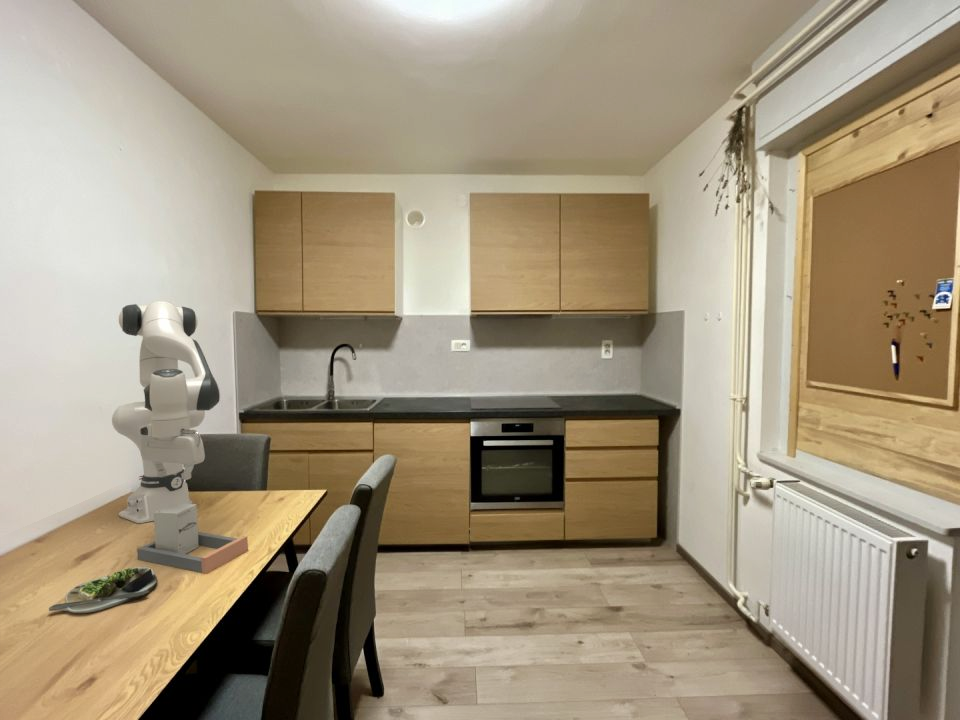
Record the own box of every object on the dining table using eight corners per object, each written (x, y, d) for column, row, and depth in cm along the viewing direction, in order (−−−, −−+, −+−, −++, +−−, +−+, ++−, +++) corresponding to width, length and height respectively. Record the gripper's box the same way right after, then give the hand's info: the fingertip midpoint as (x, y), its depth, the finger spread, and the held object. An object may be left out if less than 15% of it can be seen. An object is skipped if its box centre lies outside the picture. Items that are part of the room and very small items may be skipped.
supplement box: (178, 559, 124) (175, 513, 123) (155, 557, 125) (152, 512, 124) (199, 547, 131) (197, 503, 130) (178, 545, 132) (175, 502, 132)
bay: (137, 559, 124) (136, 545, 124) (183, 539, 136) (182, 526, 136) (206, 573, 116) (205, 558, 116) (248, 550, 128) (247, 536, 128)
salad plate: (49, 633, 94) (47, 612, 93) (49, 598, 107) (47, 579, 106) (162, 595, 107) (161, 576, 107) (150, 568, 120) (149, 551, 120)
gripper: (209, 427, 126) (212, 477, 127) (156, 424, 132) (159, 471, 133) (188, 432, 120) (191, 484, 121) (133, 428, 127) (136, 478, 127)
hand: (174, 477), depth 127 cm, fingers open, 8 cm apart
